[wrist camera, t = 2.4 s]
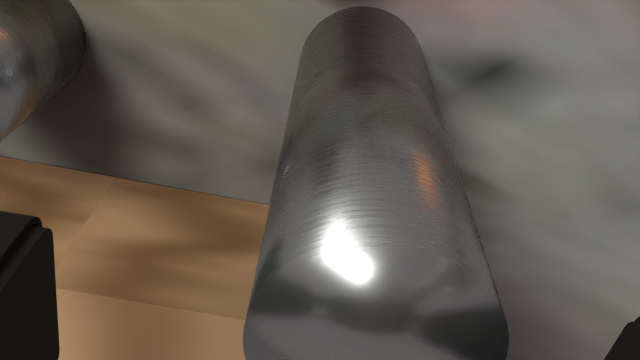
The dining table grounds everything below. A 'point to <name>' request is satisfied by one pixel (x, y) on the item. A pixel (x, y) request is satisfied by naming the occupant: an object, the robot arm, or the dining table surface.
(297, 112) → the tall pin
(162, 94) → the dining table surface
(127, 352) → the hole block
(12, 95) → the short pin
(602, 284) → the dining table surface
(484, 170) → the dining table surface
